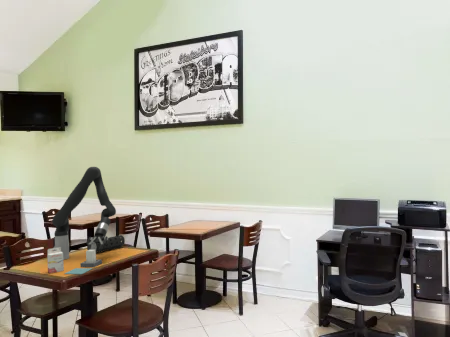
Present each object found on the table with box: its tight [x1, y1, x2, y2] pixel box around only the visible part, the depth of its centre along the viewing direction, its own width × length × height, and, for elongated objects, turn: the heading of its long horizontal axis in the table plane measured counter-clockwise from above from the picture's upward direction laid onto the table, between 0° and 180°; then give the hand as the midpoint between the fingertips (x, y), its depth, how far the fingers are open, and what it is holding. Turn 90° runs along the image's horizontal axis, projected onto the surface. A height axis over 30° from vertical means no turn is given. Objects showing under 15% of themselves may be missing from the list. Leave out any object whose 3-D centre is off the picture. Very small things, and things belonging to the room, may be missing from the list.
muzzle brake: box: [90, 234, 126, 253], centre depth 292 cm, size 10×28×10 cm, turn 144°
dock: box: [79, 259, 103, 268], centre depth 247 cm, size 10×10×2 cm
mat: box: [63, 267, 93, 275], centre depth 232 cm, size 12×12×1 cm
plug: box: [85, 250, 97, 263], centre depth 247 cm, size 4×4×10 cm
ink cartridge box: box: [46, 247, 65, 274], centre depth 235 cm, size 9×5×15 cm, turn 129°
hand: (94, 250), depth 251 cm, fingers open, 8 cm apart
